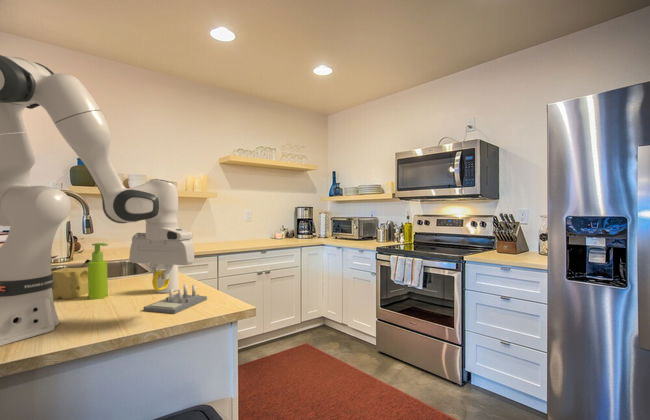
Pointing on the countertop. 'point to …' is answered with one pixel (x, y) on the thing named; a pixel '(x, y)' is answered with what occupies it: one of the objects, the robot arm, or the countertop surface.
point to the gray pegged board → (176, 301)
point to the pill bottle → (172, 279)
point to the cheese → (70, 282)
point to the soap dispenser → (97, 274)
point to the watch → (156, 280)
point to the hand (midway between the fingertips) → (160, 278)
